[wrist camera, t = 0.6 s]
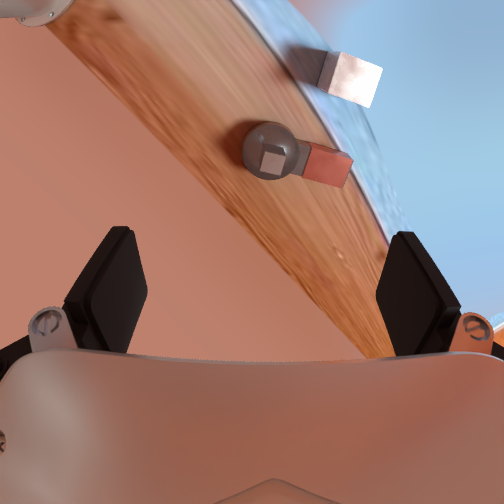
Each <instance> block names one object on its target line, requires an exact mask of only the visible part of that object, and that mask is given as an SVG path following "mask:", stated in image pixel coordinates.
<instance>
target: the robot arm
mask: <svg viewBox="0 0 504 504" xmlns="http://www.w3.org/2000/svg"><path fill="white" fill-rule="evenodd" d="M73 1H74V0H0V18H9V17H15V18H16V20H17V21H18V22H19V23H20V24H22V25H24V26H28V27H37V26H43V25H46V24H48V23H50V22H52V21H54V20H55V19H57V18H58V17H59V16H61V15H62V14H63V13H64V12H65V11H66V10H67V9H68V8H69V7H70V5H71V4H72V3H73ZM146 297H147V285H146V280H145V276H144V272H143V269H142V265H141V261H140V256H139V251H138V247H137V243H136V238H135V234H134V231H133V230H130V229H129V227H127V226H113V227H112V228H111V229H110V231H109V232H108V234H107V235H106V236H105V238H104V239H103V241H102V242H101V244H100V245H99V246H98V248H97V249H96V251H95V252H94V254H93V255H92V257H91V258H90V260H89V262H88V263H87V264H86V266H85V268H84V269H83V271H82V272H81V274H80V275H79V277H78V278H77V280H76V282H75V283H74V285H73V287H72V288H71V290H70V291H69V293H68V295H67V297H66V298H65V300H64V302H65V303H64V305H63V307H62V308H60V307H55V306H54V307H47V308H44V309H42V310H40V311H38V312H37V313H36V314H35V315H34V316H33V317H32V319H31V320H30V322H29V325H28V333H29V335H27V336H25V337H23V338H21V339H20V340H18V341H16V342H14V343H12V344H10V345H9V346H7V347H5V348H3V349H1V350H0V504H504V347H502V346H501V345H499V344H497V343H496V342H494V341H493V339H494V331H493V328H492V326H491V325H490V323H489V322H488V321H487V320H486V319H485V318H484V317H482V316H481V315H479V314H476V313H472V312H467V313H464V314H463V315H462V314H461V313H460V308H461V305H460V303H459V302H458V300H457V298H456V296H455V295H454V293H453V291H452V290H451V288H450V286H449V285H448V283H447V282H446V280H445V278H444V277H443V275H442V274H441V272H440V270H439V269H438V268H437V266H436V264H435V263H434V261H433V260H432V258H431V257H430V255H429V254H428V252H427V251H426V250H425V248H424V247H423V245H422V243H421V242H420V241H419V239H418V238H417V236H416V235H415V234H414V232H406V231H399V232H398V233H397V234H396V235H393V237H392V239H391V243H390V247H389V250H388V254H387V257H386V261H385V264H384V267H383V271H382V274H381V277H380V280H379V283H378V287H377V290H376V301H377V303H378V306H379V309H380V311H381V314H382V317H383V320H384V322H385V325H386V328H387V331H388V334H389V337H390V339H391V342H392V345H393V348H394V351H395V354H396V357H385V358H372V359H358V360H339V361H314V362H313V361H311V362H245V361H217V360H197V359H181V358H169V357H157V356H147V355H136V354H126V352H127V350H128V347H129V343H130V341H131V338H132V335H133V332H134V330H135V327H136V324H137V321H138V318H139V316H140V313H141V310H142V308H143V305H144V302H145V300H146Z"/></svg>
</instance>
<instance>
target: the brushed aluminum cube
mask: <svg viewBox="0 0 504 504" xmlns="http://www.w3.org/2000/svg"><path fill="white" fill-rule="evenodd" d="M381 72H382V68H380V67H378V66H376V65H373V64H371V63H369V62H366V61H364V60H361V59H359V58H356V57H353V56H351V55H349V54H346V53H343V52H328V53H327V56H326V59H325V62H324V66H323V69H322V72H321V75H320V78H319V82H318V85H317V87H318V88H320V89H321V90H323V91H325V92H327V93H329V94H332V95H335V96H338V97H341V98H344V99H347V100H349V101H352V102H355V103H358V104H360V105H363V106H366V107H370V104H371V101H372V98H373V96H374V92H375V90H376V87H377V84H378V81H379V78H380V75H381Z"/></svg>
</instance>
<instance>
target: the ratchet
mask: <svg viewBox="0 0 504 504" xmlns="http://www.w3.org/2000/svg"><path fill="white" fill-rule="evenodd" d="M242 158H243V162H244V164H245V166H246V168H247V169H248V170H249V171H250V172H251V173H252V174H253V175H255V176H256V177H258V178H261V179H265V180H276V179H280V178H283V177H285V176H287V175H288V174H290V173H291V174H295V175H299V176H302V178H306V179H310V180H313V181H317V182H321V183H324V184H328V185H332V186H335V187H339V188H342V187H343V186H344V184H345V181H346V179H347V176H348V174H349V171H350V169H351V166H352V163H353V159H352V158H351V157H350V156H349V155H348V154H347V153H344V152H341V151H338V150H334V149H331V148H328V147H325V146H321V145H318V144H314V143H311V142H309V143H308V142H305V141H301V140H298V139H295V137H294V135H293V133H292V132H291V131H290V130H289V129H288V128H287V127H286V126H284V125H282V124H280V123H276V122H263V123H260V124H258V125H256V126H254V127H253V128H251V129H250V130H249V131H248V133H247V134H246V136H245V138H244V141H243V148H242Z"/></svg>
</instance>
